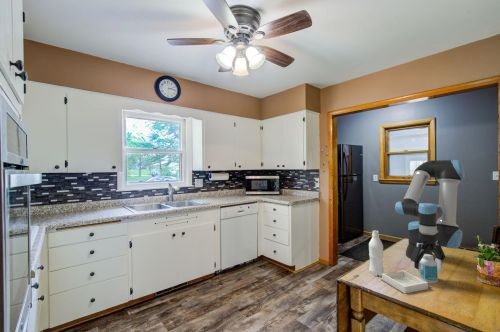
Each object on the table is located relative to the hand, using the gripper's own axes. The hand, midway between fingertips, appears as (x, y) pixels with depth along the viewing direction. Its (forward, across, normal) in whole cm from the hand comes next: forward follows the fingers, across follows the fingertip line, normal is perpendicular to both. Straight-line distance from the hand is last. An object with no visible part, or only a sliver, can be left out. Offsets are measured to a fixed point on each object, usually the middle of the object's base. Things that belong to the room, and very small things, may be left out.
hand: (428, 273), depth 123 cm
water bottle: (+5, +21, -13) cm, 25 cm away
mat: (+4, +15, 0) cm, 15 cm away
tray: (+4, +16, 0) cm, 16 cm away
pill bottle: (+4, 0, 0) cm, 5 cm away
